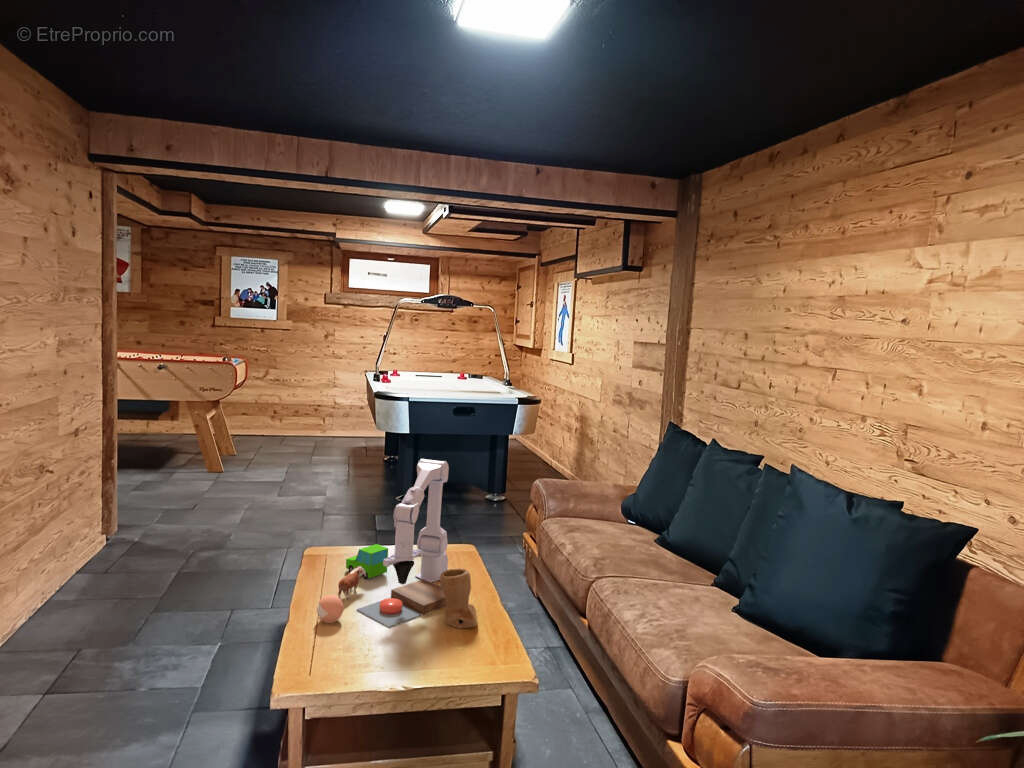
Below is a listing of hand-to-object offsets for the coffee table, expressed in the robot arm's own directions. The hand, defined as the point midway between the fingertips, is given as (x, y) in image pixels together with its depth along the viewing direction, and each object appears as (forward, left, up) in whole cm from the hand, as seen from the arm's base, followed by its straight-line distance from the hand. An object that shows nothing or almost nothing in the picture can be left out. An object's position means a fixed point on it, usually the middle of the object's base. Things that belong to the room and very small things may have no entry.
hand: (402, 583), depth 205 cm
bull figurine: (+6, -19, -9) cm, 22 cm away
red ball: (+3, -1, -8) cm, 9 cm away
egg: (+22, -7, -9) cm, 24 cm away
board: (-9, 0, -8) cm, 13 cm away
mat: (+5, 0, -8) cm, 10 cm away
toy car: (-9, -31, -9) cm, 33 cm away
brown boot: (-8, +17, -9) cm, 21 cm away
